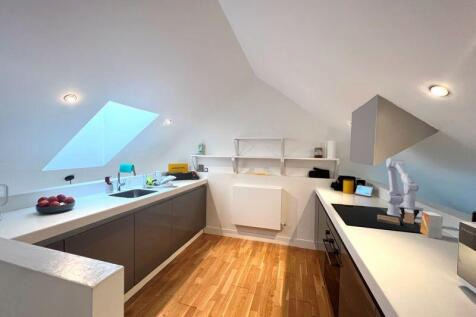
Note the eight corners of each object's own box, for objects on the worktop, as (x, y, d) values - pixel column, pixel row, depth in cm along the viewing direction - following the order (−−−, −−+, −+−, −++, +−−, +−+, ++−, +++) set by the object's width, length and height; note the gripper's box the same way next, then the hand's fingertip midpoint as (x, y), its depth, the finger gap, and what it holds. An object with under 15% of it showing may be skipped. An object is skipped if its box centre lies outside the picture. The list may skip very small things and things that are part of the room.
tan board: (377, 217, 151) (377, 214, 151) (397, 220, 145) (397, 217, 145) (377, 221, 141) (378, 218, 141) (399, 225, 135) (400, 222, 135)
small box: (419, 232, 124) (421, 210, 124) (432, 233, 122) (434, 212, 122) (427, 237, 116) (429, 214, 116) (441, 239, 115) (443, 216, 114)
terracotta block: (403, 220, 146) (403, 211, 146) (412, 221, 143) (412, 213, 143) (404, 222, 142) (404, 213, 142) (413, 223, 139) (414, 215, 139)
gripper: (397, 199, 142) (396, 219, 143) (425, 203, 135) (423, 223, 135) (396, 197, 148) (394, 216, 149) (422, 201, 141) (421, 220, 141)
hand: (408, 219), depth 143 cm, fingers closed on terracotta block, 5 cm apart
